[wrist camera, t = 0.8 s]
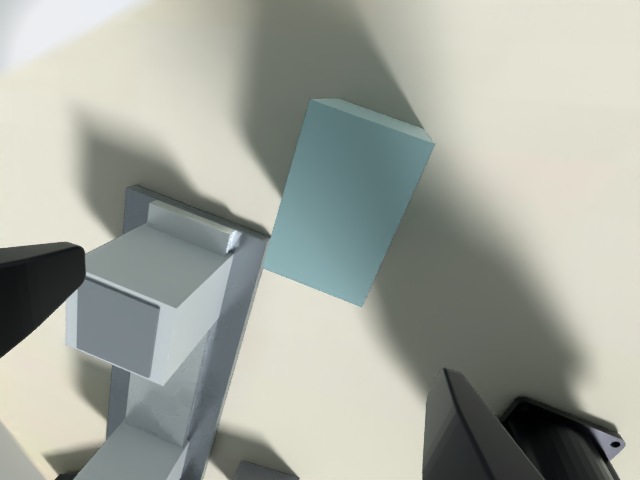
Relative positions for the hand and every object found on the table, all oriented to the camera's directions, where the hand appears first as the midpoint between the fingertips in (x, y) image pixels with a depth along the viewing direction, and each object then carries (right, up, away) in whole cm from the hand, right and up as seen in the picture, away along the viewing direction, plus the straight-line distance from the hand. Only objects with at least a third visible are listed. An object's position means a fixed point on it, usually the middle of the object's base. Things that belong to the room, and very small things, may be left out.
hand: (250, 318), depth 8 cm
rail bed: (-9, -8, +18) cm, 22 cm away
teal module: (+4, +5, +10) cm, 12 cm away
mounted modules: (-9, -8, +18) cm, 22 cm away
